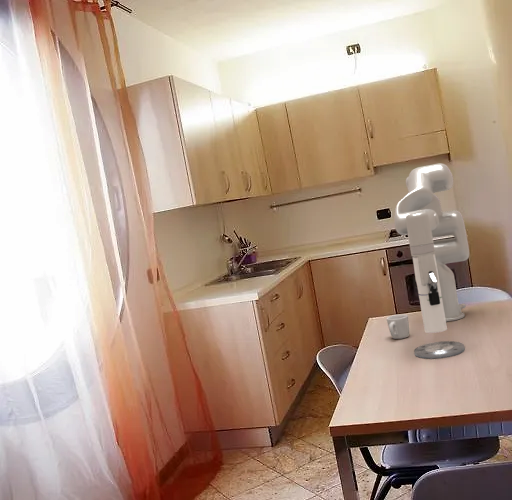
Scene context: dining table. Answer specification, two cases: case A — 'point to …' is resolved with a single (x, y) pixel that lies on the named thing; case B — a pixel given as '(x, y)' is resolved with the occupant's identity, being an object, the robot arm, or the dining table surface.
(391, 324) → the cup
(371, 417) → the dining table surface
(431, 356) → the flange plate
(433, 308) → the cylindrical container
